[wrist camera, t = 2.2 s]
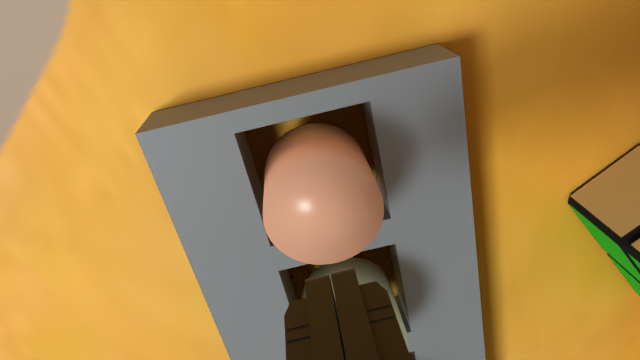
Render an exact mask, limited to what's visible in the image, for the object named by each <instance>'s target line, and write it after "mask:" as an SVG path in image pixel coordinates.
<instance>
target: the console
mask: <svg viewBox="0 0 640 360" xmlns="http://www.w3.org/2000/svg"><path fill="white" fill-rule="evenodd" d="M360 103H363V107H364V113H365V118H366V123H367V129H368V134H369V140H370V145H371V151H372V156H373V161H374V167H375V172H376V178H377V183H378V186H379V189H380V191H381V193H382V197H383V201H384V216H383V221H382V224H381V227H380V229H379V231H378V233H377V235H376V236H375V238H374V239H373V241H372V242H371V243H370V244H369V245H368V246H367V247H366V248H365V249H364V250H362V251H366V250H371V249H375V248H379V247H384V246H388V245H389V248H390V253H391V259H392V264H393V270H394V275H395V280H396V286H397V291H398V297H395V300H396V303H397V306H398V309H399V312H400V314H401V317H402V320H403V323H404V326H405V329H406V332H407V335H408V338H409V349H408V352H409V354H410V357H411V360H486V357H485V345H484V334H483V322H482V310H481V298H480V286H479V275H478V263H477V251H476V239H475V227H474V215H473V204H472V192H471V180H470V168H469V156H468V145H467V133H466V121H465V109H464V97H463V85H462V74H461V62H460V56H459V55H457V54H456V53H454V52H452V51H450V50H448V49H447V48H445V47H443V46H441V45H439V44H434V45H430V46H426V47H421V48H417V49H413V50H409V51H405V52H401V53H396V54H392V55H388V56H384V57H380V58H376V59H372V60H367V61H363V62H359V63H355V64H351V65H347V66H342V67H338V68H334V69H330V70H326V71H322V72H318V73H313V74H309V75H305V76H301V77H297V78H293V79H288V80H284V81H280V82H276V83H272V84H268V85H263V86H259V87H255V88H251V89H247V90H243V91H239V92H234V93H230V94H226V95H222V96H218V97H214V98H209V99H205V100H201V101H197V102H193V103H189V104H185V105H180V106H176V107H172V108H168V109H164V110H160V111H155V112H152V113H151V114H150V116H149V117H148V118H147V119H146V121H145V122H144V123H143V125H142V126H141V127H140V128H139V130H138V131H137V132H136V137H137V139H138V142H139V144H140V146H141V149H142V151H143V153H144V156H145V158H146V160H147V163H148V165H149V168H150V170H151V172H152V175H153V177H154V179H155V182H156V184H157V186H158V189H159V191H160V194H161V196H162V198H163V201H164V203H165V205H166V208H167V210H168V212H169V215H170V217H171V220H172V222H173V224H174V227H175V229H176V231H177V234H178V236H179V239H180V241H181V243H182V246H183V248H184V250H185V253H186V255H187V257H188V260H189V262H190V265H191V267H192V269H193V272H194V274H195V276H196V279H197V281H198V283H199V286H200V288H201V291H202V293H203V295H204V298H205V300H206V302H207V305H208V307H209V309H210V312H211V314H212V317H213V319H214V321H215V324H216V326H217V328H218V331H219V333H220V336H221V338H222V340H223V343H224V345H225V347H226V350H227V352H228V354H229V357H230V359H231V360H286V347H285V345H286V343H285V324H284V315H285V313H286V310H287V308H288V306H289V304H290V302H291V301H294V300H297V298H296V295H295V291H294V288H293V285H292V282H291V278H290V275H289V272H288V269H289V268H293V267H298V266H302V265H306V264H307V263H303V262H299V261H297V260H294V259H292V258H290V257H288V256H287V255H285V254H284V253H282V252H281V251H280V250H279V249H278V248H277V247H276V246H275V245H274V244H273V243H272V242H271V240H270V238H269V237H268V235H267V233H266V230H265V227H264V223H263V196H264V191H263V188H262V185H261V182H260V178H259V175H258V172H257V169H256V166H255V162H254V159H253V156H252V153H251V149H250V146H249V143H248V140H247V137H246V133H245V131H247V130H251V129H255V128H260V127H264V126H268V125H272V124H276V123H281V122H285V121H289V120H293V119H297V118H302V117H306V116H310V115H314V114H318V113H322V112H327V111H331V110H335V109H339V108H343V107H348V106H352V105H356V104H360ZM362 251H361V252H362Z"/></svg>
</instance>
